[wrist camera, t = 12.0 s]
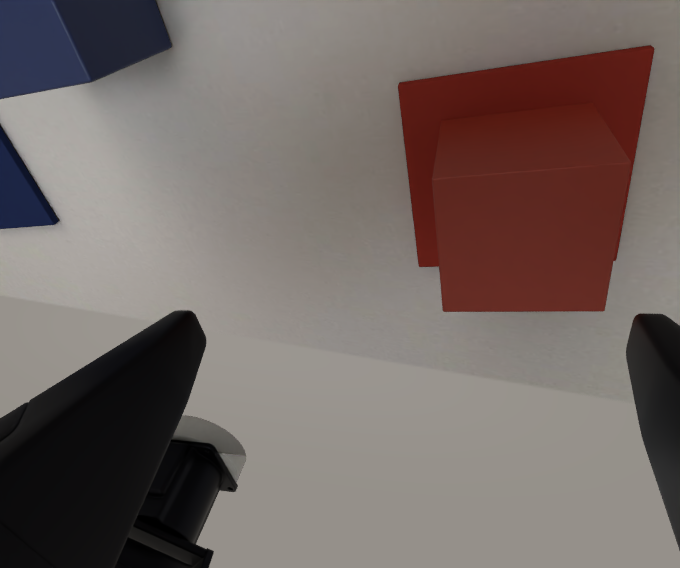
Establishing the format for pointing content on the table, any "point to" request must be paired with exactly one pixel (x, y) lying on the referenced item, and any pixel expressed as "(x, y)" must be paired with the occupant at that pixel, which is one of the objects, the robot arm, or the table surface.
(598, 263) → the red block
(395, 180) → the table surface
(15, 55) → the blue block
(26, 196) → the blue mat
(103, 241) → the table surface
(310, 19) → the table surface
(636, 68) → the red mat
